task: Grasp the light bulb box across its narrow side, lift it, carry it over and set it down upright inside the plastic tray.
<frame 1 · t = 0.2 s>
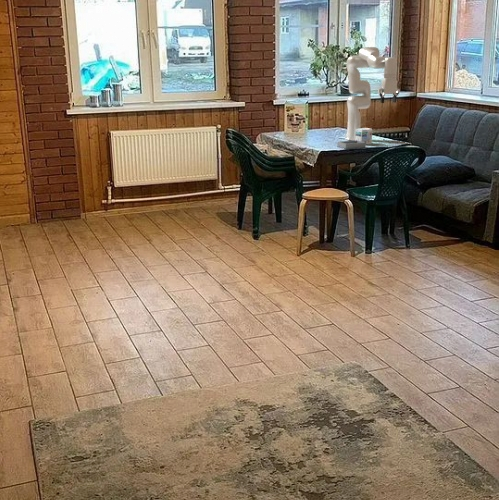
hand: (388, 102, 480), 31 cm above the table, tool pointing down, fingers open, 9 cm apart
sorting tray: (351, 147, 494), on the table
light bulb box: (363, 144, 509), on the table
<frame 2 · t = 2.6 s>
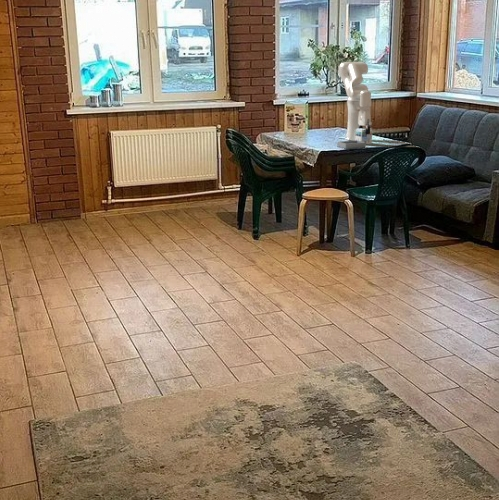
hand: (364, 133, 506), 7 cm above the table, tool pointing down, fingers open, 9 cm apart
light bulb box: (363, 144, 509), on the table, touching gripper
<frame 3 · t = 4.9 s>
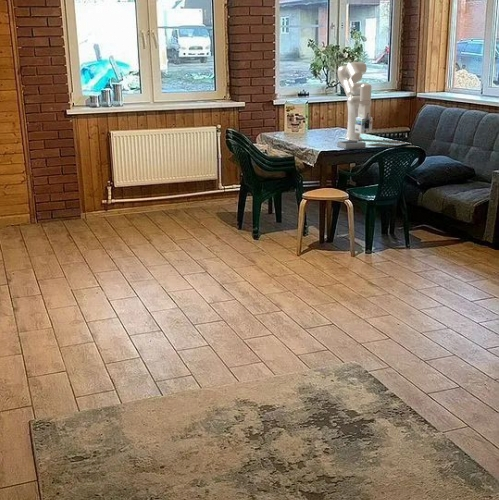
hand: (363, 127, 506), 12 cm above the table, tool pointing down, fingers closed on light bulb box, 7 cm apart
light bulb box: (363, 132, 508), point 8 cm above the table, touching gripper
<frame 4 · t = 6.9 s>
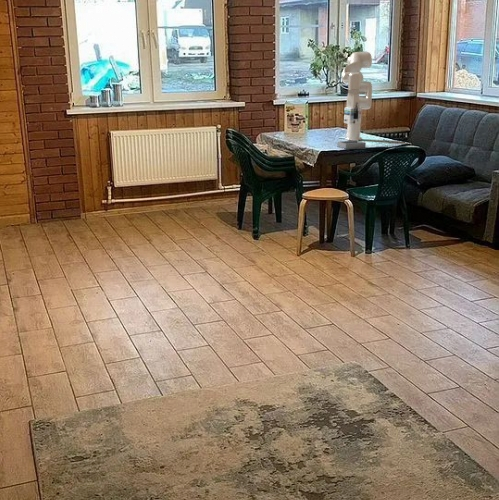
hand: (352, 118, 489), 20 cm above the table, tool pointing down, fingers closed on light bulb box, 7 cm apart
light bulb box: (352, 123, 490), point 16 cm above the table, touching gripper
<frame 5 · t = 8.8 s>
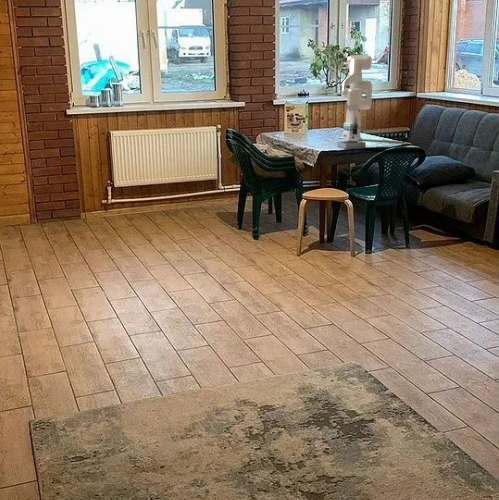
hand: (351, 133, 492), 10 cm above the table, tool pointing down, fingers closed on light bulb box, 7 cm apart
light bulb box: (351, 138, 493), point 6 cm above the table, touching gripper
when the fingers open (5 cm above the table, at t = 10.3 s): light bulb box drops 1 cm, resting on sorting tray.
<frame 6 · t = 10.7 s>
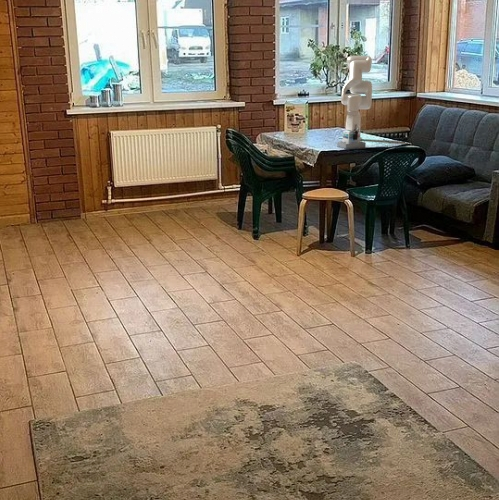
hand: (351, 138, 493), 6 cm above the table, tool pointing down, fingers open, 9 cm apart
light bulb box: (351, 146, 495), resting on sorting tray
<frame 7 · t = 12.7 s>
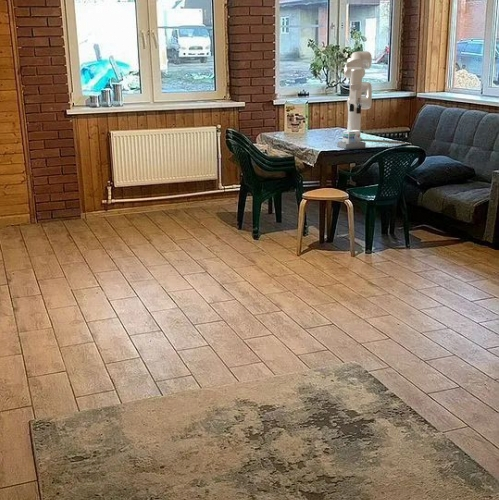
hand: (355, 112, 492), 23 cm above the table, tool pointing down, fingers open, 9 cm apart
nothing on the table moved.
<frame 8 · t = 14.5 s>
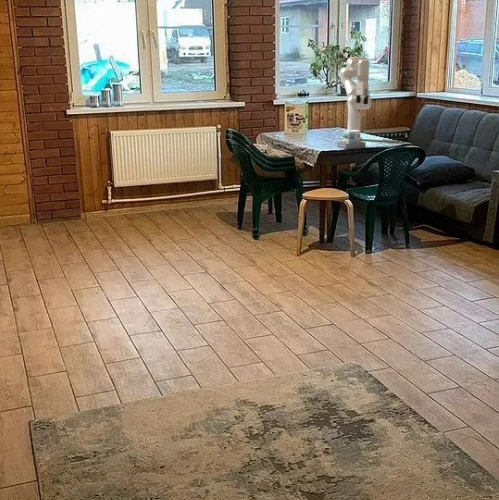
hand: (361, 103, 501), 28 cm above the table, tool pointing down, fingers open, 9 cm apart
nothing on the table moved.
at the end: light bulb box 0.4 cm off-centre on the sorting tray, point 0.4 cm above the sorting tray's base; light bulb box tilted 0°; the gripper is holding nothing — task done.
